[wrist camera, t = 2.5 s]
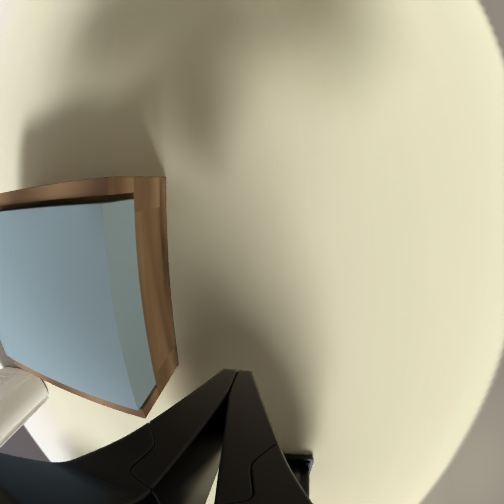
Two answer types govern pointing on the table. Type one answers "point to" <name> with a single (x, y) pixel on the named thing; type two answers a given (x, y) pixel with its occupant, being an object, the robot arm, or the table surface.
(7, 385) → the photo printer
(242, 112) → the table surface
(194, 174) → the table surface
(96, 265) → the cover plate
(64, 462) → the robot arm
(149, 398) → the slide box
